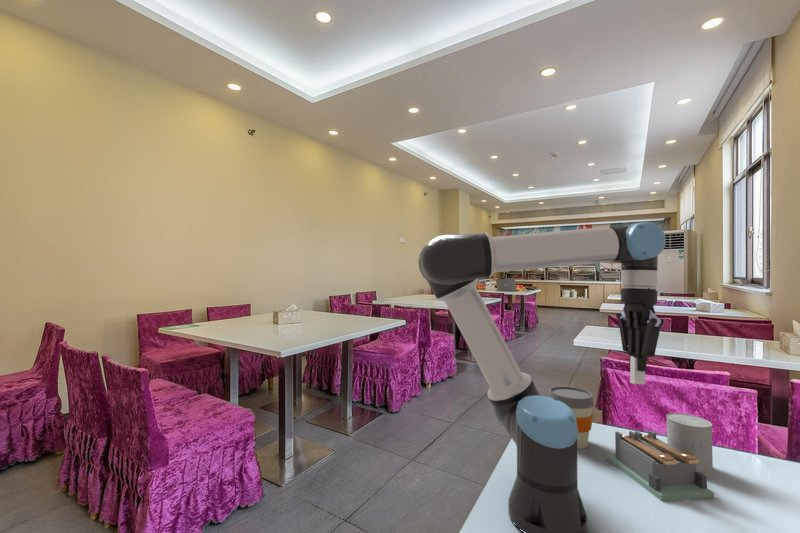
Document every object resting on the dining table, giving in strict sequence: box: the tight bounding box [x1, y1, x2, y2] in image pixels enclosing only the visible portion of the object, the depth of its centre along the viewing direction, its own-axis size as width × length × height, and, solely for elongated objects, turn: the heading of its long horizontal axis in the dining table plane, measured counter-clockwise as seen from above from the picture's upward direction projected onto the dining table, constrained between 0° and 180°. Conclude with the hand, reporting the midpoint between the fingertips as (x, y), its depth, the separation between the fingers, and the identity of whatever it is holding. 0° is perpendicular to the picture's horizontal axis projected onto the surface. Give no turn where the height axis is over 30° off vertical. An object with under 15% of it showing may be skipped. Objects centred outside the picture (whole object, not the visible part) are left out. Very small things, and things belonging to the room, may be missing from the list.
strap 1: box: [623, 435, 676, 465], centre depth 88 cm, size 3×15×2 cm, turn 5°
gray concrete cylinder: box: [665, 412, 714, 477], centre depth 94 cm, size 10×10×12 cm
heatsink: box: [607, 430, 715, 502], centre depth 89 cm, size 13×18×8 cm
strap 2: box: [642, 434, 699, 464], centre depth 89 cm, size 3×15×2 cm, turn 5°
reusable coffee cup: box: [548, 385, 595, 450], centre depth 108 cm, size 13×13×15 cm
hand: (637, 383), depth 87 cm, fingers closed
